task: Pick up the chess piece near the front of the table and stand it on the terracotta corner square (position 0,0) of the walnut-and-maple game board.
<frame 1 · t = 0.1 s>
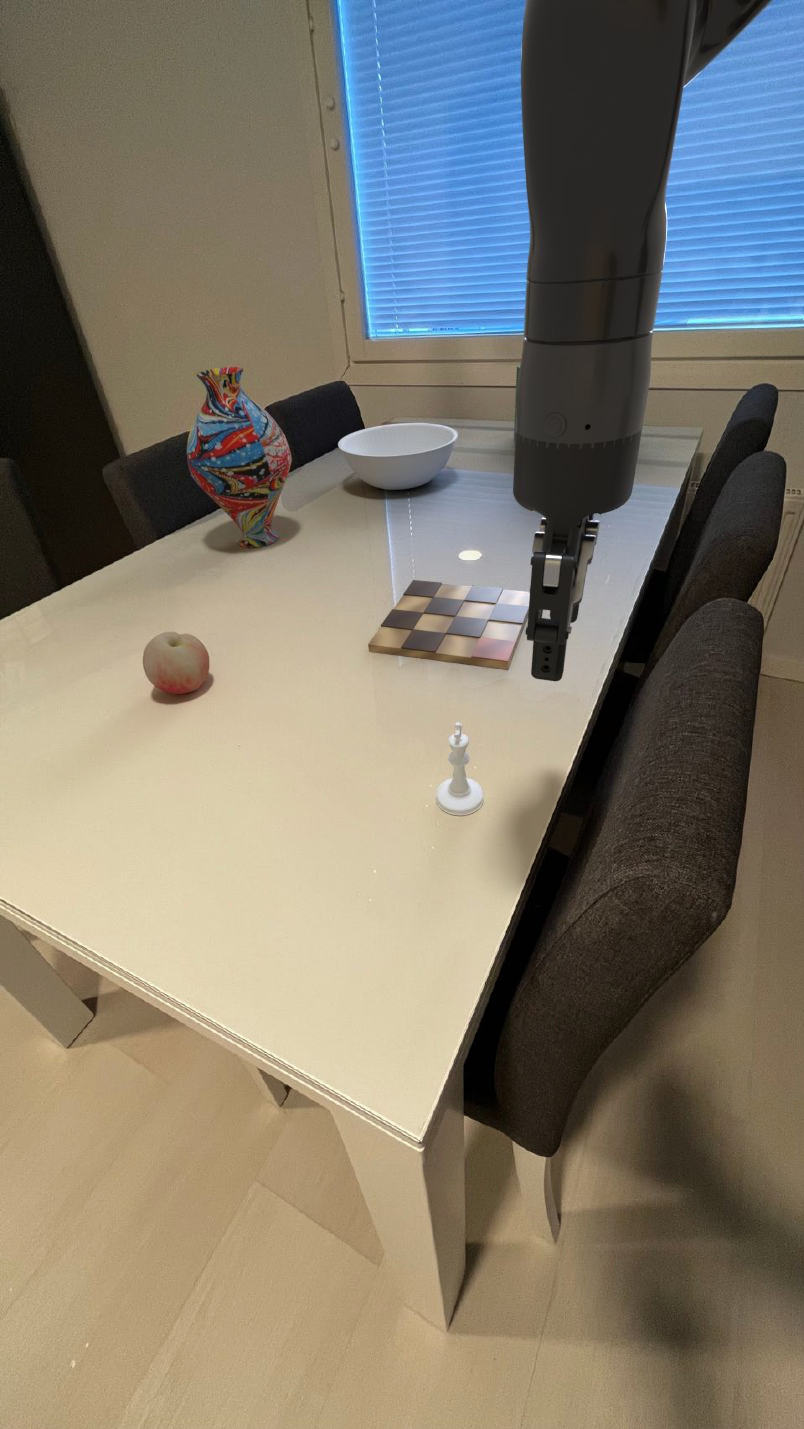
hand: (555, 646, 47), 20 cm above the table, tool pointing down, fingers open, 8 cm apart
game board: (455, 624, 90), on the table
planter: (571, 443, 158), on the table
fruit: (186, 688, 82), on the table
bowl: (401, 484, 143), on the table
vase: (259, 540, 122), on the table
decorative sphere: (553, 494, 130), on the table
chess piece: (459, 799, 63), on the table
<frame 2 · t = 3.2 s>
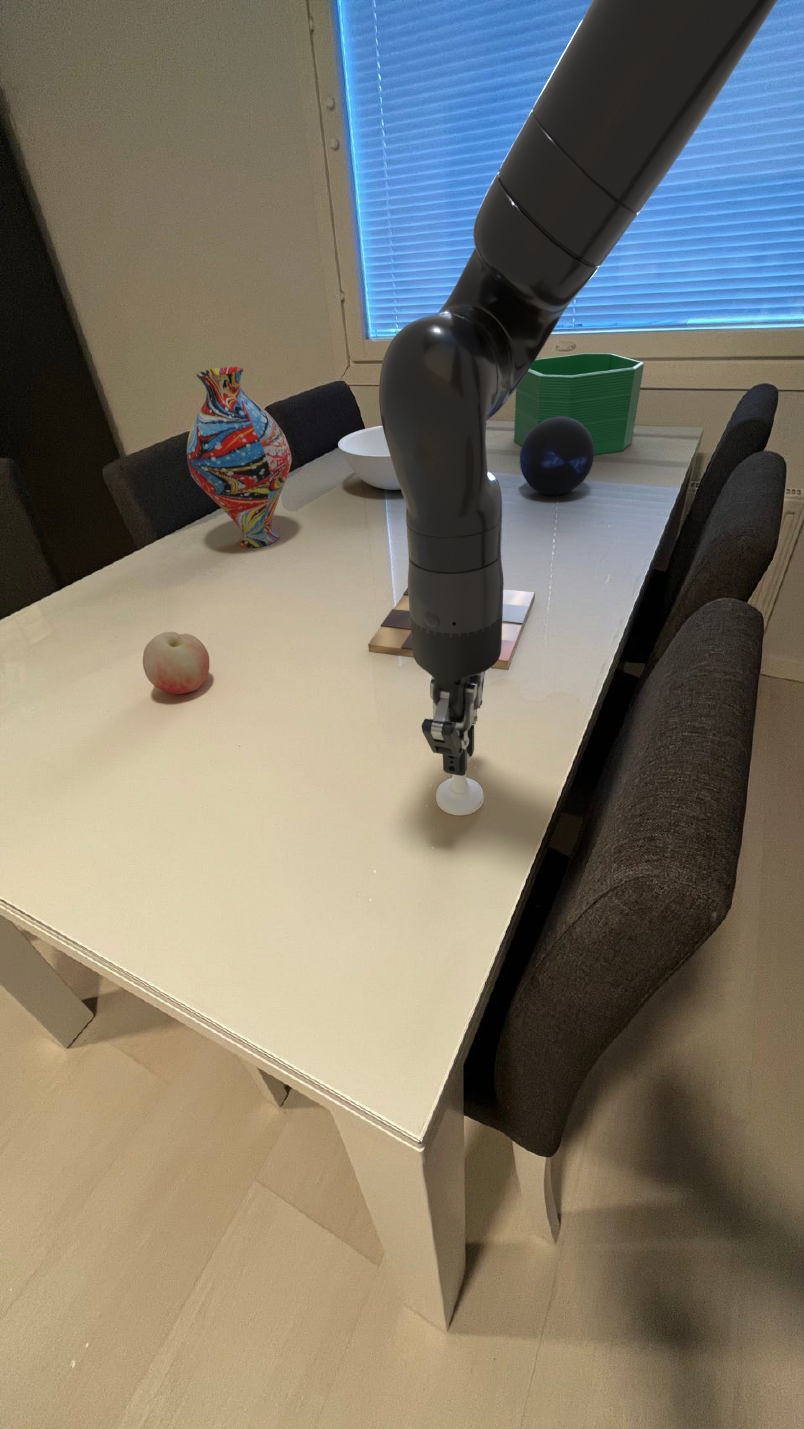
hand: (459, 761, 59), 5 cm above the table, tool pointing down, fingers closed on chess piece
chess piece: (459, 799, 63), on the table, touching gripper
everything else where it was.
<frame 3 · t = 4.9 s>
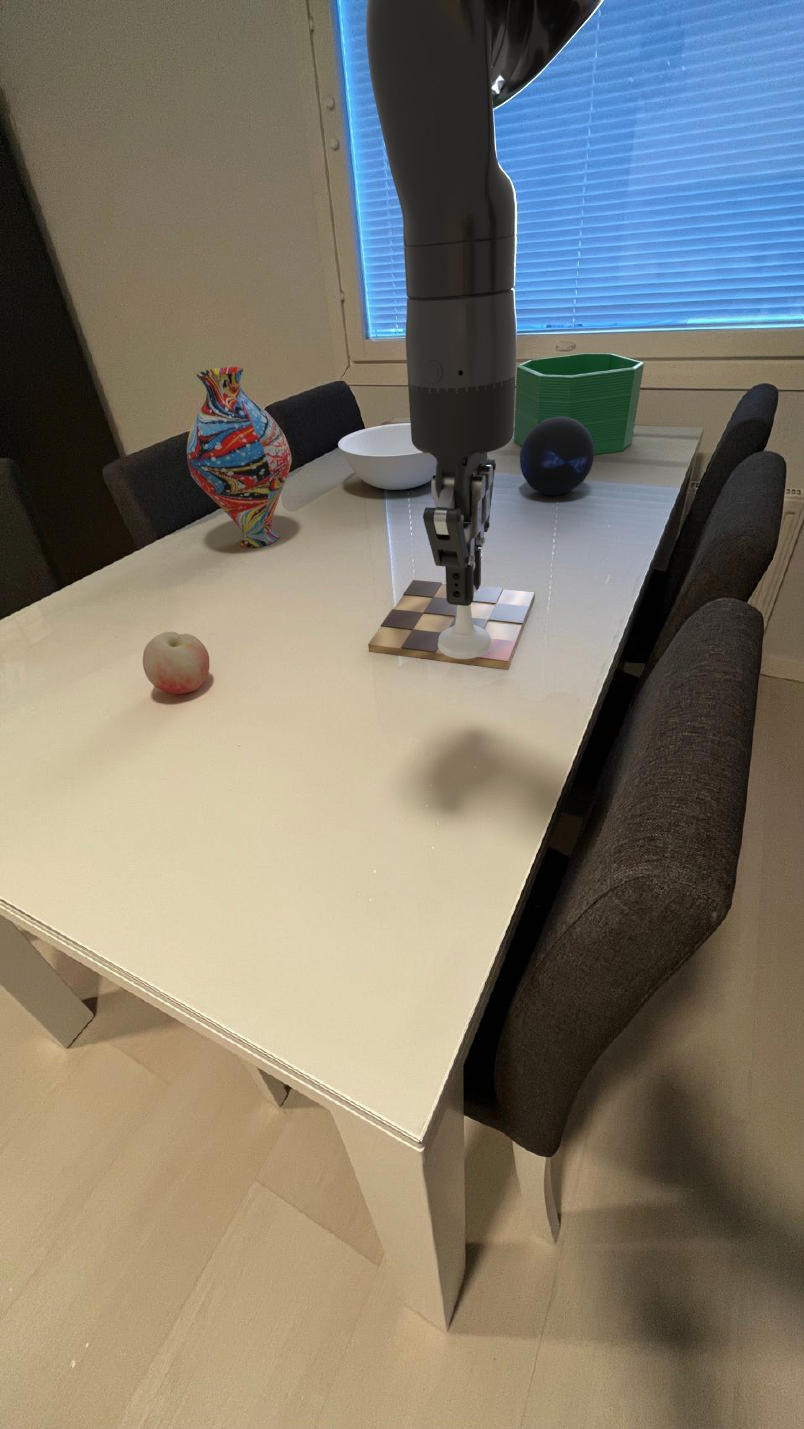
hand: (464, 594, 53), 21 cm above the table, tool pointing down, fingers closed on chess piece
chess piece: (464, 646, 56), point 16 cm above the table, touching gripper
everything else where it was.
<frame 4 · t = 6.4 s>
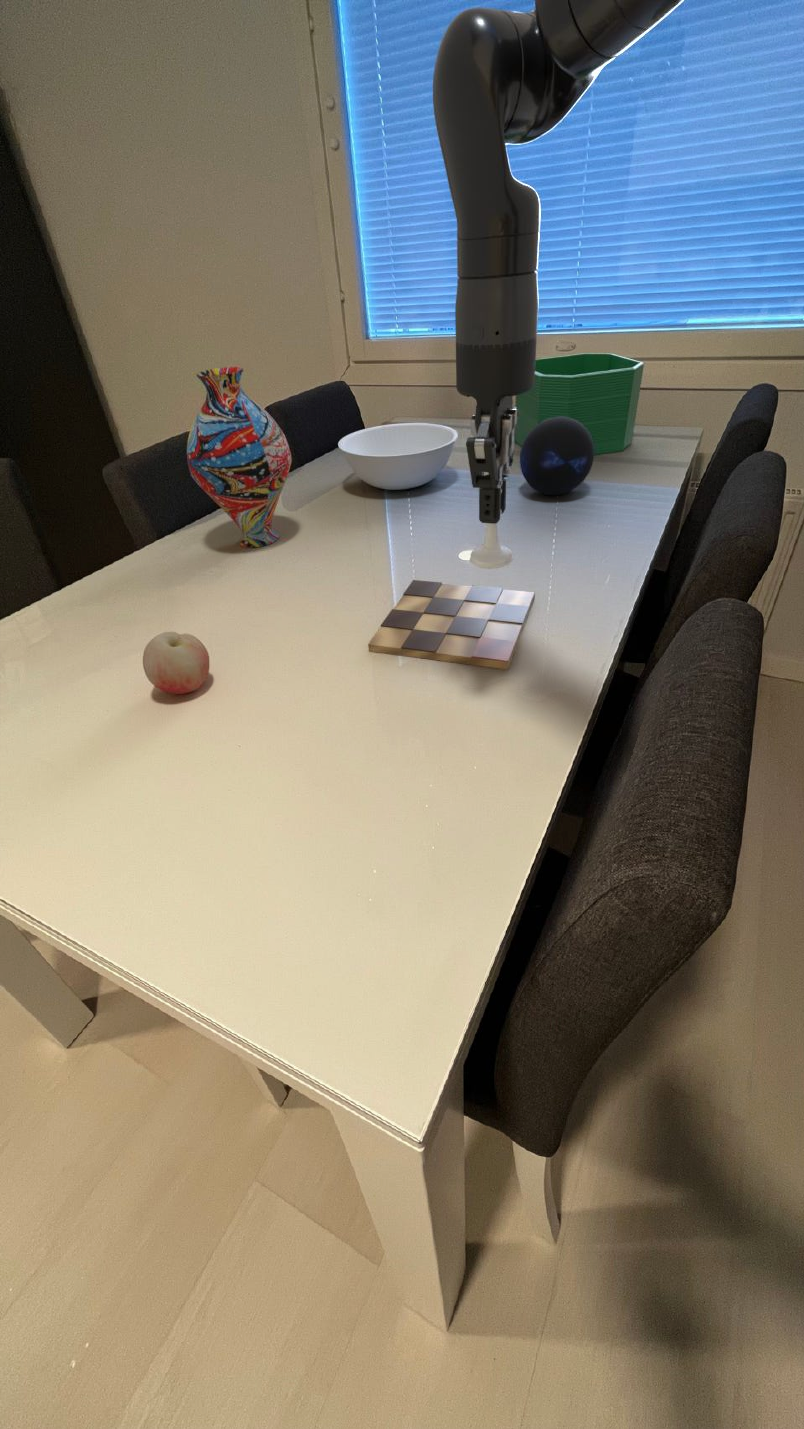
hand: (492, 516, 67), 21 cm above the table, tool pointing down, fingers closed on chess piece
chess piece: (491, 561, 70), point 16 cm above the table, touching gripper
everything else where it was.
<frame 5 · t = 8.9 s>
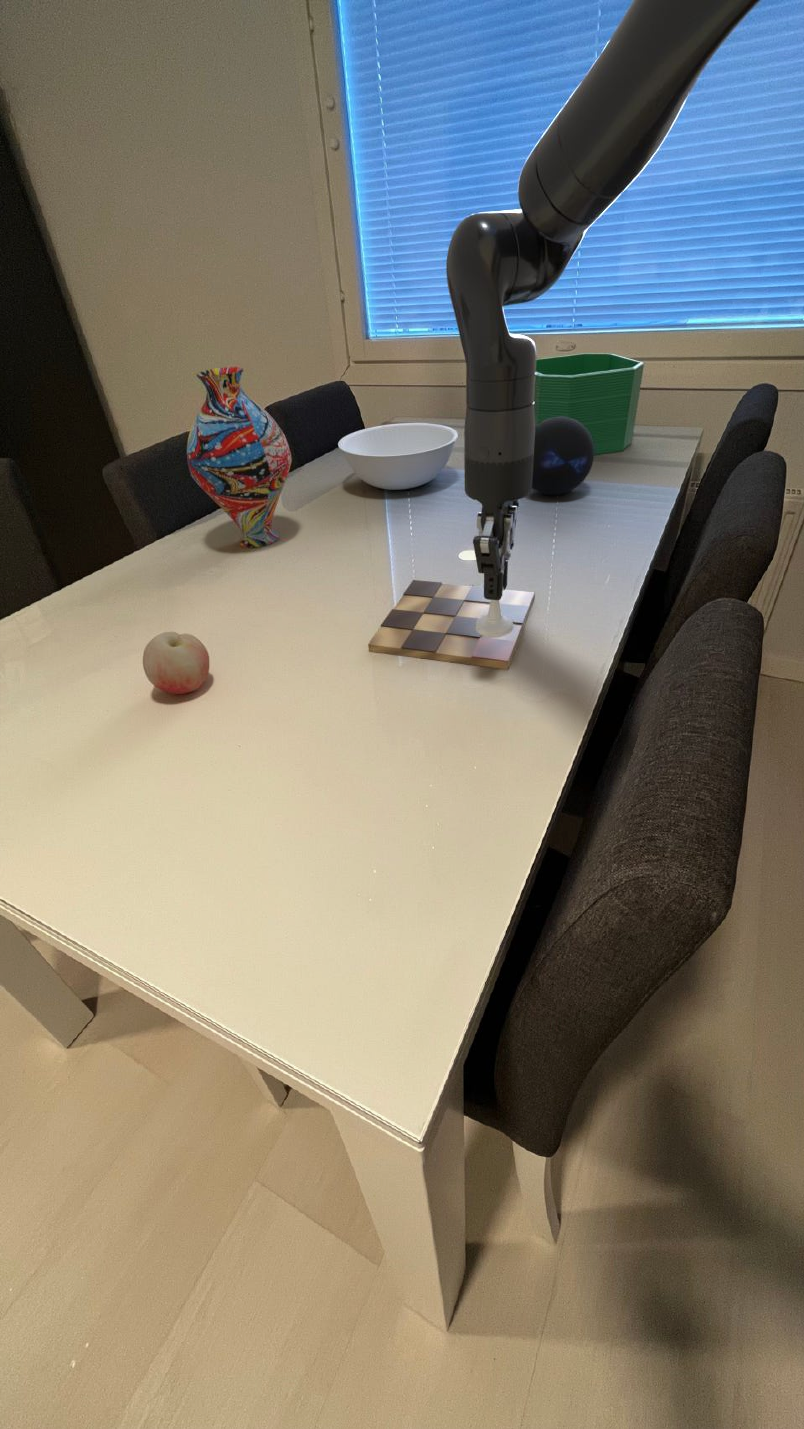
hand: (495, 592, 76), 10 cm above the table, tool pointing down, fingers closed on chess piece
chess piece: (494, 629, 79), point 5 cm above the table, touching gripper
everything else where it was.
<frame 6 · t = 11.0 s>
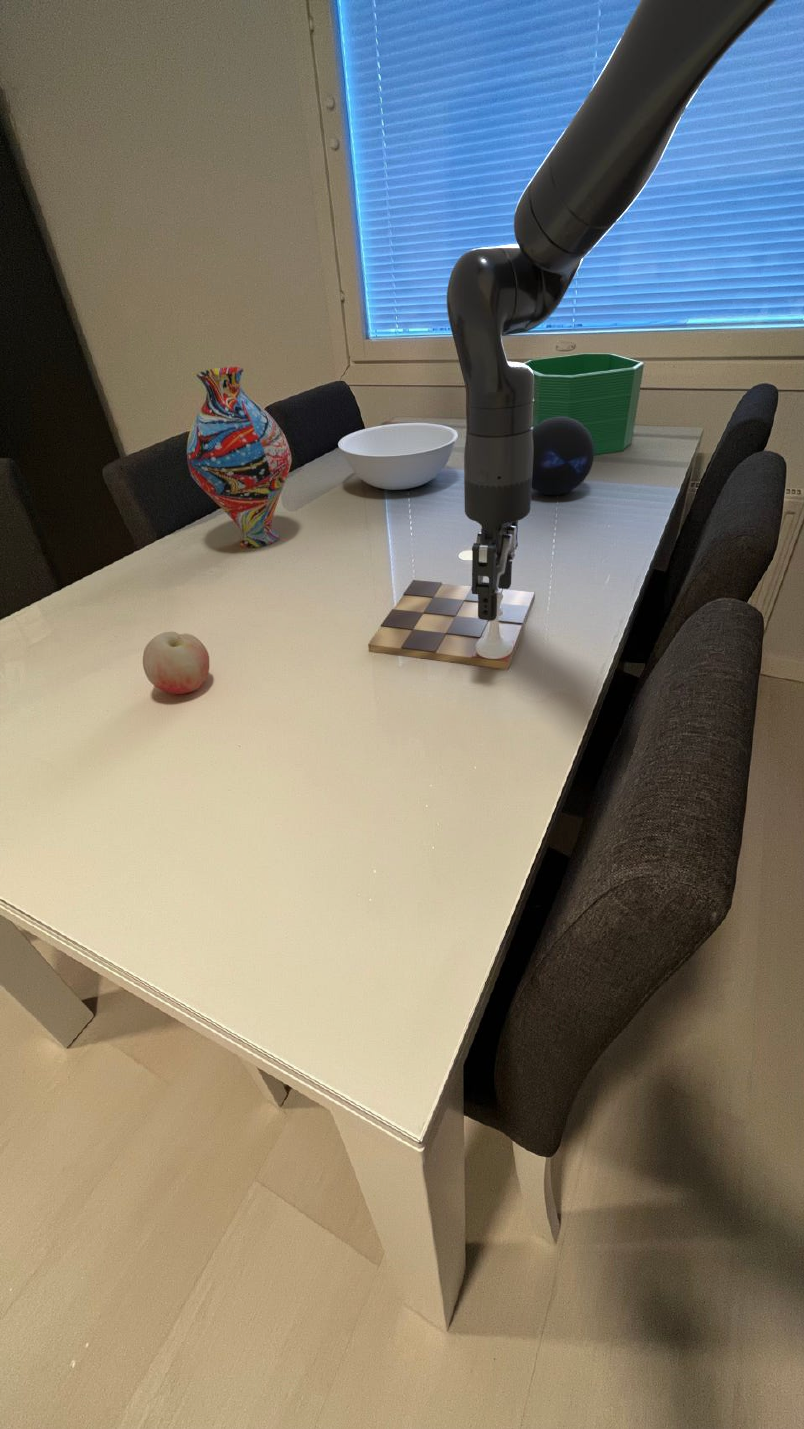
hand: (495, 602, 77), 8 cm above the table, tool pointing down, fingers open, 8 cm apart
chess piece: (493, 650, 81), point 1 cm above the table, touching game board
everything else where it was.
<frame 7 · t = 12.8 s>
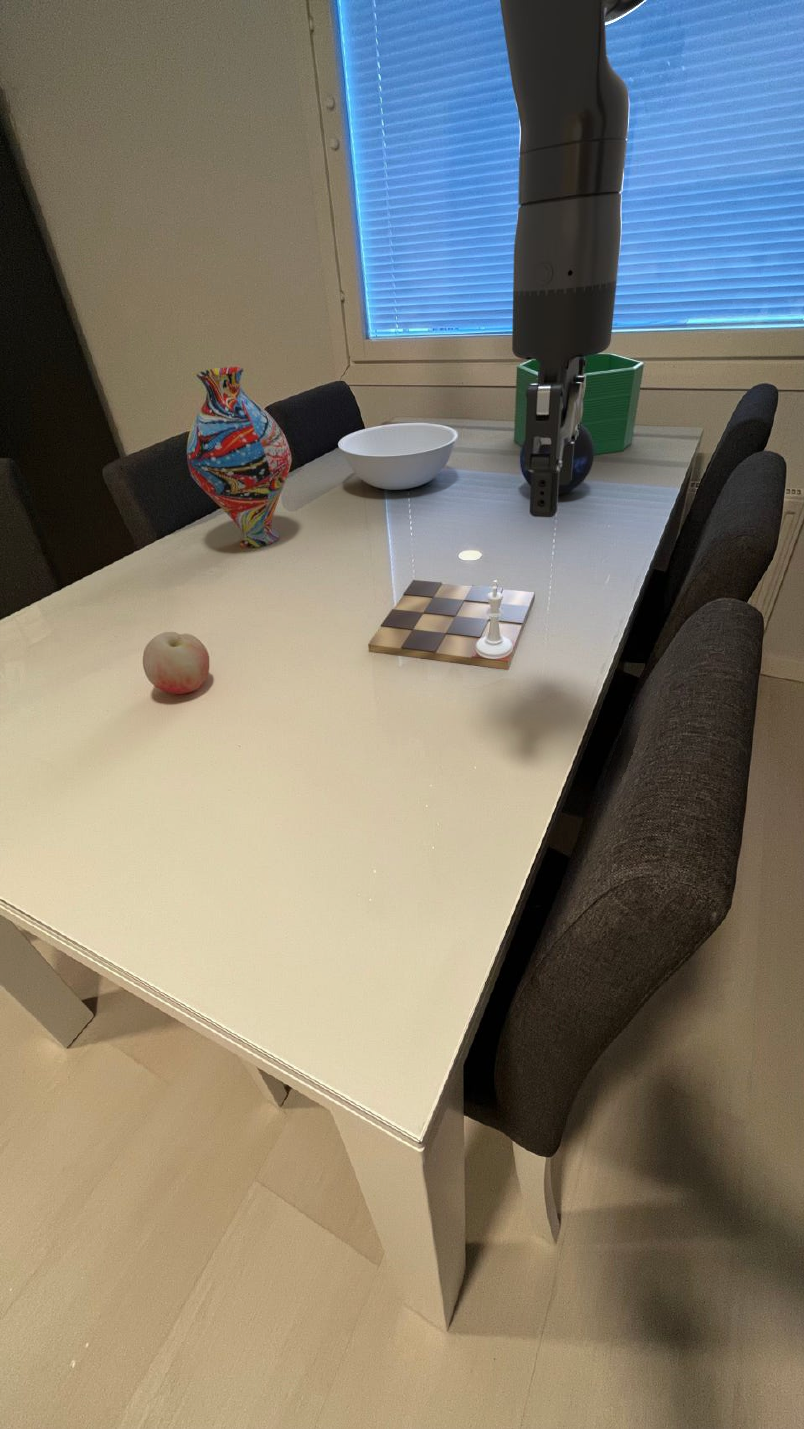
hand: (551, 498, 55), 26 cm above the table, tool pointing down, fingers open, 8 cm apart
nothing on the table moved.
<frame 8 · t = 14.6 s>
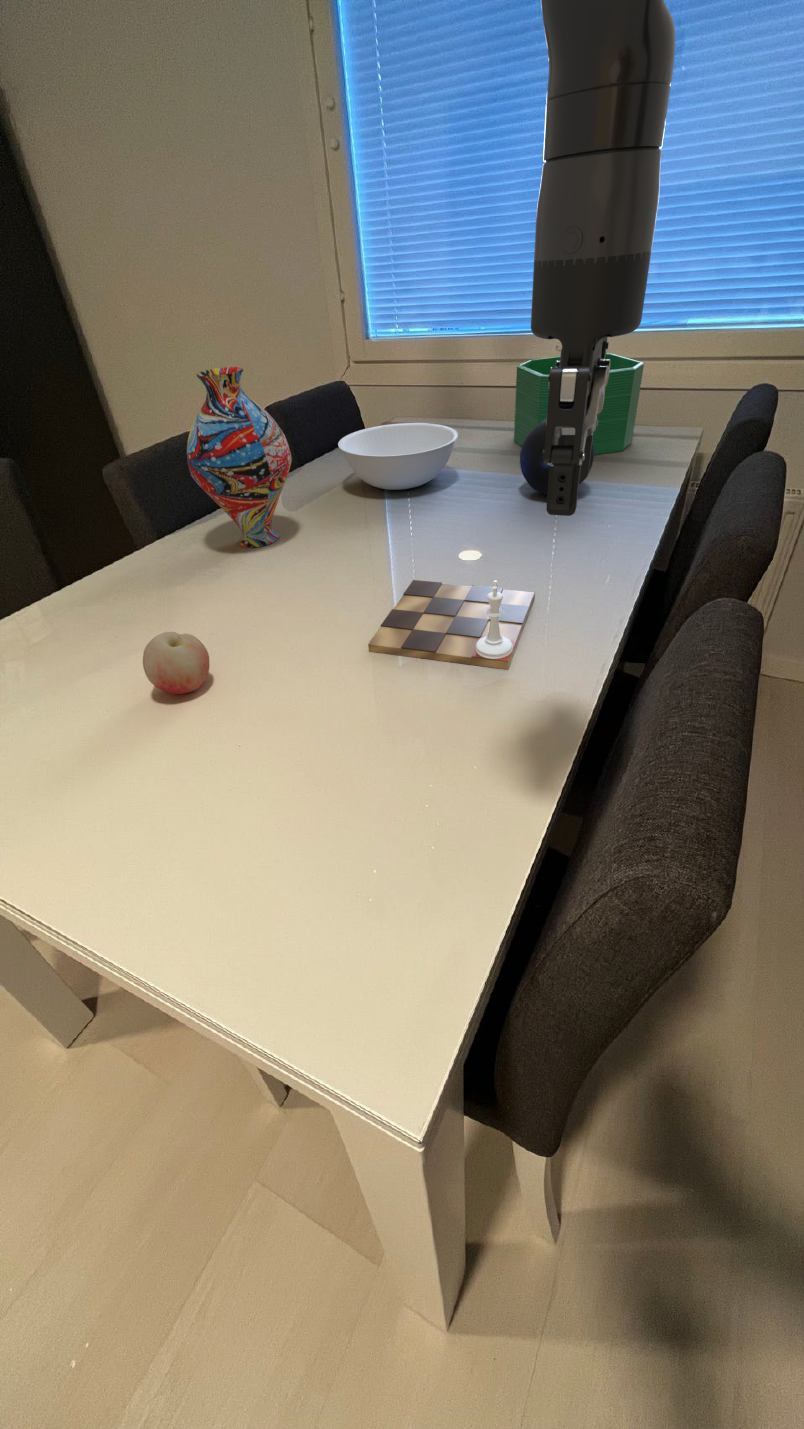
hand: (568, 495, 50), 28 cm above the table, tool pointing down, fingers open, 8 cm apart
nothing on the table moved.
at the end: chess piece 0.1 cm from the target spot on the game board, point 1.2 cm above the game board's base; chess piece tilted 0° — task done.
